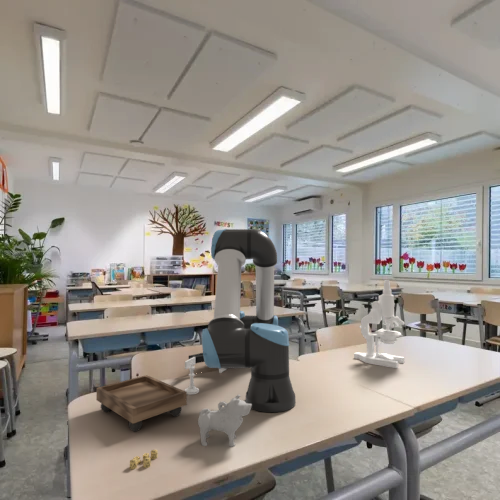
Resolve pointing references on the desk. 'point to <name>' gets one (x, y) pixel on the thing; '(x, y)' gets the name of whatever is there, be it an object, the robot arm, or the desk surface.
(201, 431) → the white dog statue
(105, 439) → the desk surface
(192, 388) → the chess piece
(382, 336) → the microscope
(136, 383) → the caster cart
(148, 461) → the dice set
